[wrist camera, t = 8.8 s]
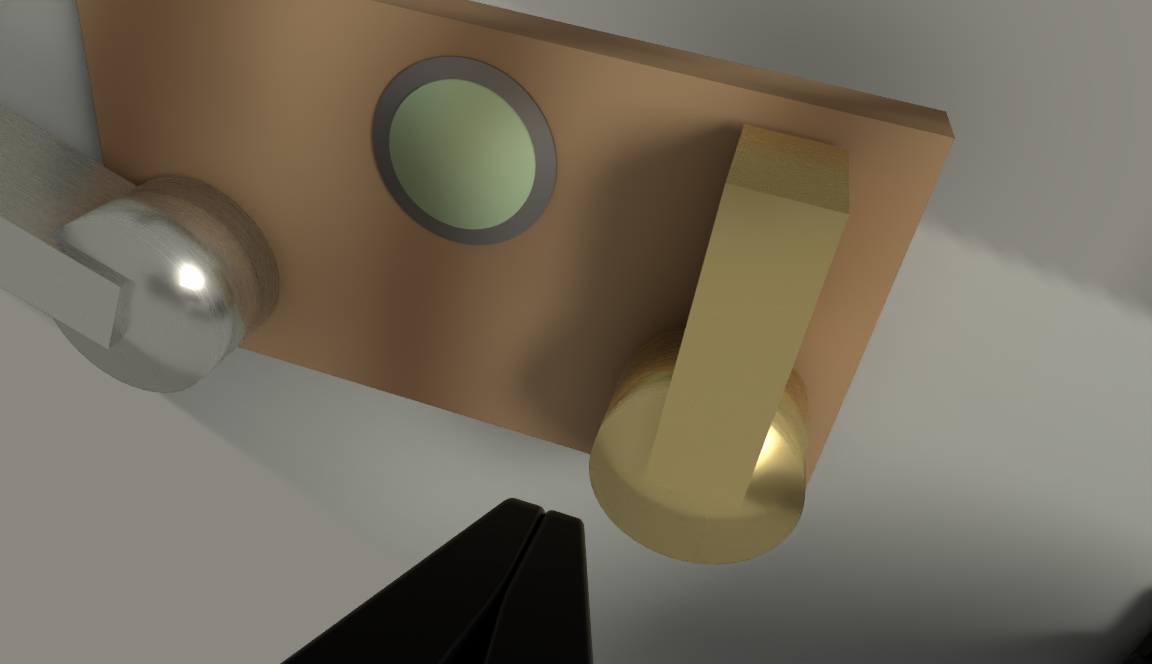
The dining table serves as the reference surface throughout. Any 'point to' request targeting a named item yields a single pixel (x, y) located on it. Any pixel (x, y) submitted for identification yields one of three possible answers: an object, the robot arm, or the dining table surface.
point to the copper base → (491, 188)
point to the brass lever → (730, 368)
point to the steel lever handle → (130, 261)
